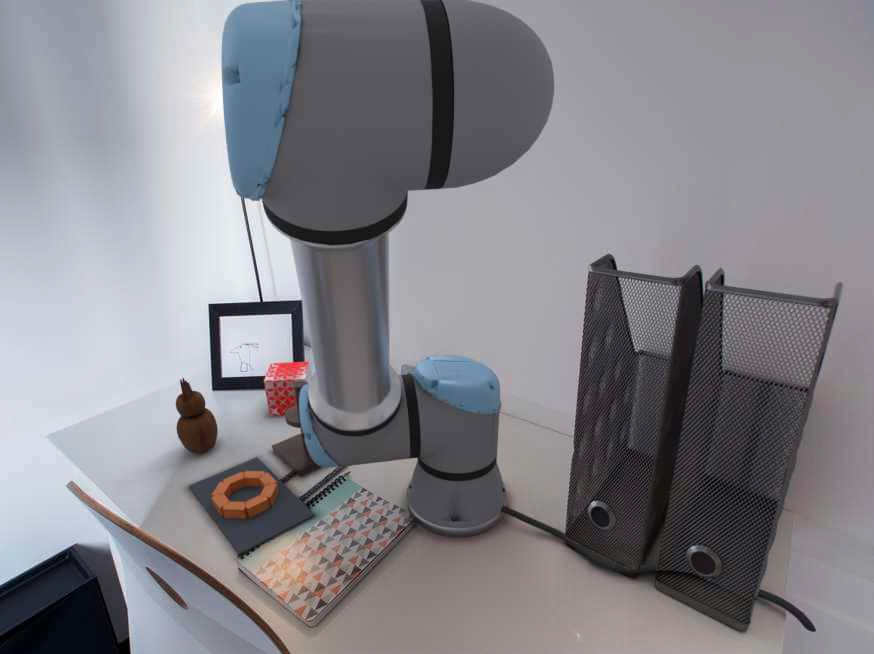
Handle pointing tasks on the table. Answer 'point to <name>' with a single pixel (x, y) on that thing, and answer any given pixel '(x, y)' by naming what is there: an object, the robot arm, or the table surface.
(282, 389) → the red patterned cube
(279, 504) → the mat
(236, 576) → the table surface
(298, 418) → the ring stand
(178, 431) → the wooden figurine
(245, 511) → the ring
